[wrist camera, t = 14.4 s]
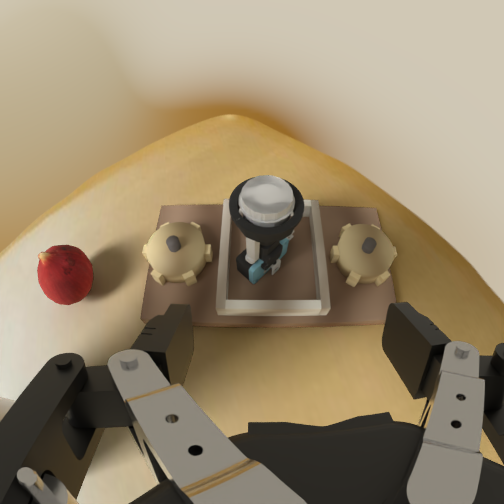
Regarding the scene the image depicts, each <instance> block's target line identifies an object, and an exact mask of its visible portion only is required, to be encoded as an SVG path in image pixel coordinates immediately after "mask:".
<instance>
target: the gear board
mask: <svg viewBox="0 0 504 504" xmlns="http://www.w3.org/2000/svg"><path fill="white" fill-rule="evenodd" d="M239 213H240V215H241V216H242V217H243V212H242V210H241V208H240V209H239ZM293 215H294V213H293V211H292V212H291V216H290V218H291V217H292V216H293ZM292 235H293V238H292V239H291V240H290V241H289V243H288V247H287V252H286V254H285V255H284V256H283V257H282V258H281V259H280V260H281V264H280V268H279V269H278V270H277V271H276V272H275V273H274V274H273V275H272V268H271V269H270V270H268V271H267V272H266V273H265V274H264V275H263V276H262V277H261V278H260V279H259V280H258V281H257V282H256V283H255V284H253V283H252V282H250V281H249V280H248V279H247V278H246V277H245V276H243V275H242V274H241V273H240V272H239V271H238V270H237V263H236V258H237V256H238V255H239V254H240V253H241V252H243V251H244V250H245V249H246V237H245V236H244V234H243V233H242V232H241V231H240V229H239V228H238V227H237V226H236V224H235V223H234V221H233V220H232V218H231V215H230V211H229V199H224V203H223V205H167V206H161V210H160V214H159V219H158V223H157V228H156V232H155V233H154V234H153V235H152V236H151V238H150V239H149V241H148V244H144V247H143V252H142V254H143V255H144V257H145V259H146V260H147V261H149V269H148V275H147V280H146V286H145V292H144V298H143V305H142V312H141V320H142V321H143V322H144V323H148V321H149V320H151V319H152V318H154V317H155V316H157V315H164V314H165V312H166V311H167V309H168V307H169V306H170V304H190V307H191V314H192V326H214V327H328V326H353V325H371V324H385V321H386V315H387V310H388V307H389V305H390V304H391V303H396V297H395V292H394V286H393V281H392V275H391V270H390V266H391V264H392V262H393V260H394V259H395V258H396V256H397V252H396V247H395V246H392V243H391V241H390V240H389V238H388V237H387V236H386V235H385V233H383V232H382V229H381V225H380V221H379V217H378V213H377V210H376V208H364V207H340V206H319V202H318V200H304V213H303V217H302V219H301V221H300V223H299V224H298V225H297V226H296V227H295V228H294V233H293V234H292ZM288 238H290V237H288ZM276 269H277V268H276ZM276 269H275V270H276Z"/></svg>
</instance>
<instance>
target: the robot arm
mask: <svg viewBox="0 0 504 504" xmlns="http://www.w3.org/2000/svg"><path fill="white" fill-rule="evenodd" d="M382 347H383V350H384V352H385V354H386V355H387V357H388V358H389V360H390V362H391V363H392V365H393V366H394V368H395V369H396V371H397V373H398V374H399V376H400V378H401V379H402V381H403V382H404V384H405V386H406V387H407V389H408V391H409V392H410V394H411V396H412V397H413V399H419V398H424V397H427V400H426V402H425V405H424V407H423V410H422V413H421V416H420V419H419V422H418V425H414V424H411V423H406V422H398V421H393V419H392V417H391V415H390V413H389V412H386V413H380V414H373V415H366V416H358V417H355V418H352V419H348V420H345V421H342V422H339V423H335V424H332V425H329V426H323V427H322V426H311V425H303V424H295V423H288V422H248V433H242V434H238V435H234V436H231V437H228V438H227V437H226V436H225V435H224V434H223V433H222V431H221V430H220V429H219V428H218V427H217V426H216V425H215V424H214V423H213V422H212V421H211V419H210V418H209V417H208V416H207V415H206V414H205V413H204V412H203V410H202V409H201V408H200V407H199V406H198V405H197V403H196V402H195V401H194V400H193V399H192V398H191V396H190V395H189V394H188V393H187V392H186V390H185V389H184V388H183V387H182V386H183V383H184V380H185V377H186V374H187V370H188V367H189V364H190V361H191V358H192V355H193V350H194V337H193V326H192V314H191V307H190V304H170V306H169V307H168V309H167V311H166V312H165V314H164V315H157V316H155V317H154V318H152V319H151V320H149V321H148V323H147V324H146V326H145V328H144V329H143V330H142V332H141V334H140V335H139V336H138V338H137V339H136V341H135V343H134V344H133V346H132V347H131V349H130V350H123V351H120V352H117V353H115V354H114V355H112V356H111V357H110V358H109V360H108V365H106V366H92V367H86V366H85V363H84V360H83V358H82V357H81V356H80V355H78V354H74V353H64V354H59V355H57V356H54V357H53V358H51V359H50V360H49V361H48V362H47V363H46V364H45V365H44V366H43V368H42V369H41V370H40V371H39V373H38V374H37V375H36V376H35V377H34V379H33V380H32V381H31V382H30V384H29V385H28V386H27V387H26V389H25V390H24V391H23V392H22V394H21V395H20V396H19V398H18V399H17V400H16V401H14V400H10V399H6V398H2V397H0V504H79V503H78V502H77V501H76V499H77V497H78V494H79V491H80V489H81V486H82V483H83V481H84V478H85V476H86V473H87V471H88V468H89V466H90V463H91V461H92V458H93V456H94V453H95V451H96V448H97V446H98V443H99V441H100V439H101V436H102V434H103V432H104V429H105V428H109V427H126V426H127V428H128V430H129V432H130V434H131V436H132V438H133V440H134V442H135V444H136V445H137V447H138V449H139V451H140V453H141V455H142V456H143V458H144V460H145V462H146V464H147V465H148V467H149V469H150V471H151V473H152V475H153V477H154V479H155V481H156V483H157V486H155V487H154V488H152V489H151V490H149V491H148V492H146V493H145V494H143V495H142V496H140V497H138V498H137V499H135V500H134V501H132V502H131V503H129V504H504V466H502V465H500V464H498V463H496V462H493V461H491V460H489V459H487V458H484V457H483V455H482V453H481V452H480V451H479V448H480V440H481V432H482V429H483V430H484V432H485V434H486V435H487V437H488V438H489V440H490V442H491V443H492V445H493V447H494V448H495V450H496V452H497V454H498V455H499V457H500V459H501V460H502V462H503V464H504V343H501V344H498V345H497V346H496V348H495V351H494V353H493V356H479V351H478V350H477V349H476V348H475V347H474V346H473V345H471V344H469V343H466V342H461V341H453V342H452V341H451V340H450V339H449V338H448V337H447V336H446V335H445V334H444V333H443V332H442V331H441V330H439V328H438V327H437V326H436V325H434V323H433V322H432V321H431V320H430V319H429V318H428V317H426V316H424V315H422V314H420V313H418V312H417V311H416V310H415V309H414V308H413V307H412V306H411V305H410V304H409V303H408V302H402V303H391V304H390V305H389V307H388V310H387V315H386V321H385V326H384V331H383V336H382ZM64 417H65V418H64ZM63 419H64V420H63Z"/></svg>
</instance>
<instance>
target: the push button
mask: <svg viewBox="0 0 504 504" xmlns="http://www.w3.org/2000/svg"><path fill="white" fill-rule="evenodd" d="M240 208H241V210H242V212H243V217H242V216H241V215H240V213H239V209H240ZM229 211H230V215H231V218H232V220H233V221H234V223H235V224H236V226H237V227H238V228H239V229H240V231H241V232H242V233H243V234H244V236H245V237H246V249H245V250H244V251H243V252H241V253H240V254H239V255H238V256H237V258H236V263H237V270H238V271H239V272H240V273H241V274H242V275H243V276H245V277H246V278H247V279H248V280H249V281H250V282H252V283H253V284H255V283H256V282H257V281H258V280H259V279H260V278H261V277H262V276H263V275H264V274H265V273H266V272H267V271H268V270H270V269H271V268H272V275H273V274H274V273H275V272H276V271H277V270H278V269H279V268H280V264H281V260H280V259H281V258H282V257H283V256H284V255H285V254H286V252H287V247H288V243H289V241H290V240H291V239H292V238H293V235H292V234H293V233H294V228H295V227H296V226H297V225H298V224H299V223H300V221H301V219H302V217H303V213H304V200H303V197H302V195H301V193H300V192H299V190H298V189H297V188H296V187H295V186H294V185H292V184H291V183H290V182H288V181H286V180H284V179H281V178H279V177H275V176H270V175H265V176H257V177H254V178H250V179H248V180H246V181H244V182H242V183H241V184H239V185H238V186H237V187H236V188H235V189H234V191H233V192H232V194H231V196H230V199H229ZM292 211H293V213H294V215H293V216H292V217H291V218H290V216H291V212H292ZM288 237H290V238H288ZM276 268H277V269H276ZM275 269H276V270H275Z"/></svg>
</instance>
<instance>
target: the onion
mask: <svg viewBox="0 0 504 504" xmlns="http://www.w3.org/2000/svg"><path fill="white" fill-rule="evenodd" d="M38 258H39V259H40V260H39V264H38V270H37V271H38V280H39V284H40V286H41V288H42V290H43V291H44V293H45V294H46V296H47V297H48V298H50V299H51V300H53V301H54V302H56V303H58V304H63V305H71V304H73V303H76V302H79V301H81V300H82V299H83V298H84V297H86V296H87V294H88V292H89V291H90V289H91V286H92V282H93V269H92V264H91V262H90V261H89V259H88V258H87V256H86V255H85V253H84V252H83V251H81V250H80V249H79V248H76V247H74V246H70V245H57V246H52V247H51V248H49V249H48V250H46V251H45V252H41V253H40V254H39V255H38Z"/></svg>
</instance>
